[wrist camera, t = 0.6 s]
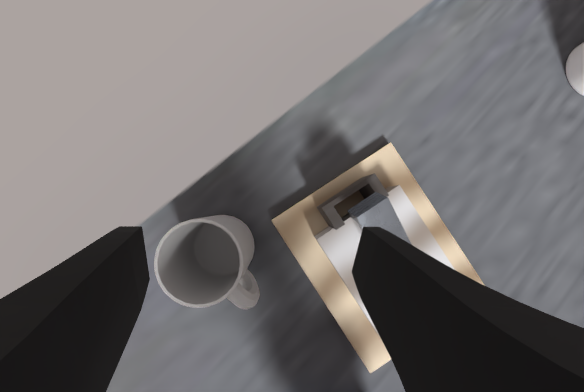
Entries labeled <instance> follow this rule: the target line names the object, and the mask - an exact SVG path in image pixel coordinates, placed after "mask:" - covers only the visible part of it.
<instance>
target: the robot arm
mask: <svg viewBox="0 0 584 392" xmlns="http://www.w3.org/2000/svg"><path fill="white" fill-rule="evenodd" d="M352 275H353V278H354V281H355V284H356V287H357V290H358V292H359V295H360V298H361V300H362V302H363V304H364V306H365V308H366V310H367V312H368V314H369V316H370V318H371V320H372V322H373V324H374V326H375V328H376V330H377V332H378V334H379V336H380V338H381V340H382V342H383V343H384V345H385V347H386V349H387V351H388V353H389V355H390V357H391V359H392V361H393V363H394V366H395V368H396V370H397V372H398V374H399V376H400V379H401V381H402V384H403V386H404V389H405V391H406V392H584V328H582V327H579V326H576V325H574V324H571V323H568V322H566V321H563V320H561V319H559V318H556V317H554V316H551V315H549V314H546V313H544V312H541V311H539V310H537V309H534V308H532V307H530V306H527V305H525V304H523V303H520V302H518V301H516V300H514V299H512V298H510V297H507V296H505V295H503V294H501V293H499V292H497V291H495V290H493V289H490V288H488V287H486V286H484V285H482V284H480V283H478V282H476V281H475V280H473V279H471V278H469V277H467V276H465V275H463V274H462V273H460V272H458V271H456V270H454V269H452V268H451V267H449V266H447V265H445V264H443V263H442V262H440V261H438V260H437V259H435V258H433V257H431V256H430V255H428V254H426V253H425V252H423V251H421V250H420V249H418V248H416V247H415V246H413V245H411V244H410V243H408V242H406V241H405V240H403V239H401V238H399V237H398V236H396V235H394V234H392V233H391V232H389V231H387V230H385V229H383V228H381V227H363V230H362V233H361V237H360V241H359V245H358V249H357V253H356V256H355V260H354V264H353V268H352ZM149 280H150V278H149V271H148V264H147V258H146V251H145V244H144V237H143V231H142V227H118V228H116V229H114V230H113V231H111V232H109V233H108V234H106V235H104V236H103V237H101V238H100V239H98V240H96V241H95V242H93V243H92V244H90V245H89V246H87V247H86V248H84V249H82V250H81V251H79V252H78V253H76V254H75V255H73V256H72V257H70V258H69V259H67V260H65V261H63V262H62V263H61V264H59V265H57V266H56V267H54V268H52V269H51V270H49V271H47V272H46V273H44V274H42V275H41V276H39V277H37V278H35V279H34V280H32V281H30V282H29V283H27V284H25V285H24V286H22V287H20V288H18V289H17V290H15V291H13V292H12V293H10V294H9V295H7V296H5V297H3V298H2V299H0V392H106V390H107V388H108V386H109V383H110V381H111V379H112V376H113V374H114V372H115V369H116V367H117V365H118V363H119V360H120V358H121V356H122V353H123V351H124V349H125V346H126V344H127V342H128V339H129V337H130V335H131V332H132V330H133V328H134V325H135V323H136V321H137V318H138V316H139V313H140V311H141V308H142V305H143V301H144V298H145V294H146V291H147V287H148V283H149Z"/></svg>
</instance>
